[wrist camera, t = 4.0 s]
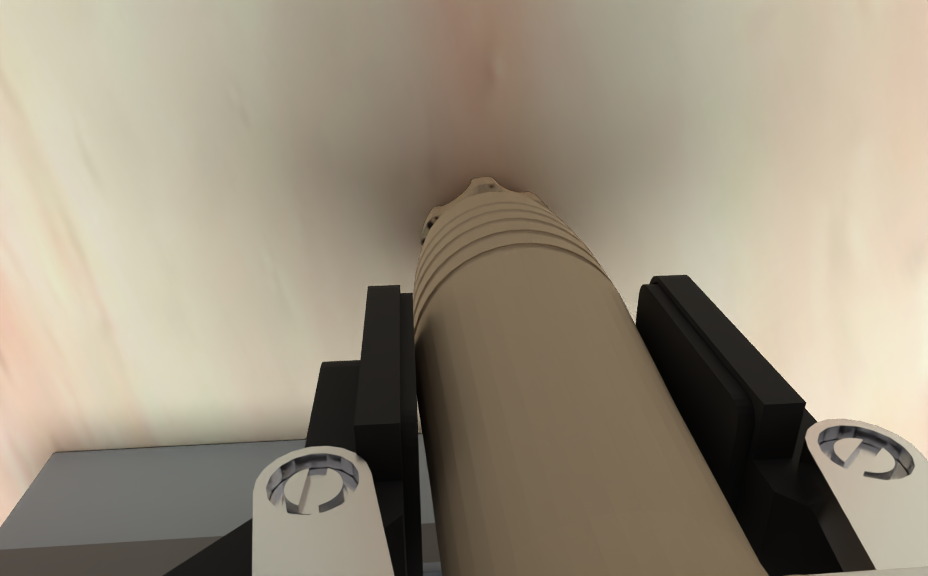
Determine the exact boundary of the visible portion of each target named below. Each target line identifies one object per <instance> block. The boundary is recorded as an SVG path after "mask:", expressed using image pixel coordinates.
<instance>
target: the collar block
mask: <svg viewBox="0 0 928 576" xmlns="http://www.w3.org/2000/svg"><path fill="white" fill-rule="evenodd" d="M305 443H306V440H290V441H271V442H252V443H232V444H213V445H194V446H175V447H156V448H136V449H117V450H98V451H79V452H59V453H53V455H52V456H51V457H50V459H49V460H48V462H47V463H46V464H45V466H44V467H43V469H42V470H41V471H40V473H39V474H38V476H37V477H36V478H35V480H34V481H33V483H32V484H31V485H30V487H29V488H28V490H27V491H26V492H25V494H24V495H23V496H22V498H21V499H20V501H19V502H18V503H17V505H16V506H15V508H14V509H13V510H12V512H11V513H10V515H9V516H8V517H7V519H6V520H5V522H4V523H3V524H2V526H1V527H0V576H163V575H164V574H166V573H167V572H169V571H170V570H172V569H173V568H175V567H177V566H178V565H180V564H181V563H183V562H184V561H186V560H187V559H189V558H191V557H192V556H194V555H195V554H197V553H198V552H200V551H201V550H203V549H205V548H206V547H208V546H209V545H211V544H212V543H214V542H215V541H217V540H219V539H220V538H222V537H223V536H225V535H226V534H228V533H229V532H231V531H233V530H234V529H236V528H237V527H239V526H240V525H242V524H243V523H245V522H246V521H248V520H250V519H251V518H253V490H254V486H255V482H256V480H257V478H258V477H259V475H260V474H261V473H262V471H263V470H264V469H265V468H266V467H267V466H268V465H270V464H271V463H272V462H273V461H275V460H276V459H277V458H280V457H282V456H284V455H286V454H288V453H290V452H292V451H296V450H300V449H303V448H305ZM418 445H419V473H420V501H421V529H422V558H423V576H442V571H441V563H440V555H439V548H438V540H437V533H436V525H435V518H434V510H433V503H432V495H431V488H430V481H429V474H428V468H427V461H426V454H425V447H424V441H423V434H418Z"/></svg>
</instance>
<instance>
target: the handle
mask: <svg viewBox="0 0 928 576" xmlns="http://www.w3.org/2000/svg"><path fill="white" fill-rule="evenodd" d="M421 245H422V246H423V247H422V250H421V253H420V256H419V260H418V265H417V270H416V276H415V283H414V293H413V315H414V340H415V366H416V392H417V400H418V407H419V414H420V420H421V427H422V434H423V441H424V447H425V454H426V461H427V468H428V474H429V481H430V488H431V495H432V503H433V510H434V518H435V525H436V533H437V540H438V548H439V555H440V563H441V571H442V576H769V575H768V573H767V572H766V571H765V569H764V568H763V567H762V565H761V564H760V562H759V560H758V558H757V556H756V554H755V553H754V551H753V549H752V547H751V545H750V543H749V541H748V540H747V538H746V536H745V534H744V532H743V530H742V528H741V527H740V525H739V523H738V521H737V519H736V517H735V515H734V513H733V512H732V510H731V508H730V506H729V504H728V502H727V500H726V499H725V497H724V495H723V493H722V491H721V489H720V487H719V485H718V484H717V482H716V480H715V478H714V476H713V474H712V472H711V471H710V469H709V467H708V465H707V463H706V461H705V459H704V457H703V456H702V454H701V452H700V450H699V448H698V446H697V444H696V443H695V441H694V439H693V437H692V435H691V433H690V431H689V430H688V428H687V426H686V424H685V422H684V420H683V418H682V416H681V415H680V413H679V411H678V409H677V407H676V405H675V403H674V401H673V399H672V397H671V395H670V393H669V391H668V389H667V387H666V385H665V383H664V381H663V379H662V377H661V375H660V373H659V371H658V369H657V367H656V365H655V363H654V361H653V359H652V357H651V355H650V353H649V351H648V349H647V347H646V345H645V343H644V341H643V339H642V337H641V335H640V333H639V331H638V329H637V327H636V325H635V323H634V321H633V320H632V318H631V316H630V314H629V312H628V310H627V308H626V306H625V304H624V302H623V300H622V298H621V296H620V294H619V293H618V291H617V290H616V288H615V287H614V285H613V284H612V282H611V280H610V279H609V278H608V276H607V275H606V273H605V272H604V270H603V269H602V267H601V266H600V264H599V263H598V261H597V260H596V259H595V257H594V256H593V254H592V253H591V252H590V250H589V249H588V248H587V247H586V245H585V244H584V243H583V242H582V241H581V240H580V239H579V238H578V237H577V236H576V235H575V234H574V232H573V231H572V230H571V229H570V228H569V227H568V226H567V225H566V224H565V223H564V222H563V221H562V220H560V219H559V218H558V217H557V216H556V215H554V214H553V213H552V212H551V211H550V210H549V208H548V207H547V206H546V205H545V204H544V203H543V202H542V201H541V200H540V199H539V198H538V197H537V196H536V195H534V194H533V193H531V192H523V193H521V192H514V191H510V190H507V189H505V188H503V187H502V186H500V185H499V184H497V182H496V181H495V180H494V179H493V178H491V177H479V178H474V179H473V180H471V183H470V185H469V186H468V188H467V189H466V190H465V191H464V192H463V193H462V194H461V195H460V196H459V197H457V198H456V199H454V200H453V201H451V202H450V203H448V204H445V205H443V206H436V207H434V208H433V209H432V210H431V211H430V213H429V215H428V217H427V219H426V221H425V223H424V226H423V230H422V236H421ZM788 576H816V575H788Z"/></svg>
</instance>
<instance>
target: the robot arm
mask: <svg viewBox="0 0 928 576" xmlns="http://www.w3.org/2000/svg"><path fill="white" fill-rule="evenodd" d="M636 327H637V329H638V331H639V333H640V335H641V337H642V339H643V341H644V343H645V345H646V347H647V349H648V351H649V353H650V355H651V357H652V359H653V361H654V363H655V365H656V367H657V369H658V371H659V373H660V375H661V377H662V379H663V381H664V383H665V385H666V387H667V389H668V391H669V393H670V395H671V397H672V399H673V401H674V403H675V405H676V407H677V409H678V411H679V413H680V415H681V416H682V418H683V420H684V422H685V424H686V426H687V428H688V430H689V431H690V433H691V435H692V437H693V439H694V441H695V443H696V444H697V446H698V448H699V450H700V452H701V454H702V456H703V457H704V459H705V461H706V463H707V465H708V467H709V469H710V471H711V472H712V474H713V476H714V478H715V480H716V482H717V484H718V485H719V487H720V489H721V491H722V493H723V495H724V497H725V499H726V500H727V502H728V504H729V506H730V508H731V510H732V512H733V513H734V515H735V517H736V519H737V521H738V523H739V525H740V527H741V528H742V530H743V532H744V534H745V536H746V538H747V540H748V541H749V543H750V545H751V547H752V549H753V551H754V553H755V554H756V556H757V558H758V560H759V562H760V564H761V565H762V567H763V568H764V569H765V571H766V572H767V573H768V575H769V576H788V575H816V576H928V461H927V459H926V458H925V457H924V456H923V454H922V453H921V452H920V451H918V450H917V449H916V448H915V447H914V446H913V445H912V444H911V443H910V442H908V441H906V440H905V439H903V438H902V437H900V436H899V435H897V434H895V433H893V432H890V431H888V430H886V429H884V428H881V427H879V426H876V425H872V424H869V423H865V422H862V421H855V420H848V419H828V420H824V421H821V422H817V421H816V420H815V419H814V418H813V416H812V415H811V414H810V413H809V412H808V411H807V410H806V409H805V405H806V402H805V401H804V400H803V399H802V398H801V397H800V395H799V394H798V393H797V392H796V391H795V390H794V389H793V388H792V387H791V386H790V385H789V384H788V383H787V382H786V380H785V379H784V378H783V377H782V376H781V375H780V374H779V373H778V372H777V371H776V370H775V369H774V368H773V366H772V365H771V364H770V363H769V362H768V361H767V360H766V359H765V358H764V357H763V356H762V355H761V354H760V353H759V351H758V350H757V349H756V348H755V347H754V346H753V345H752V344H751V343H750V342H749V341H748V340H747V339H746V337H745V336H744V335H743V334H742V333H741V332H740V331H739V330H738V329H737V328H736V327H735V326H734V325H733V324H732V322H731V321H730V320H729V319H728V318H727V317H726V316H725V315H724V314H723V313H722V312H721V311H720V310H719V308H718V307H717V306H716V305H715V304H714V303H713V302H712V301H711V300H710V299H709V298H708V297H707V296H706V295H705V293H704V292H703V291H702V290H701V289H700V288H699V287H698V286H697V285H696V284H695V283H694V282H693V281H692V279H691V278H690V277H688V276H687V275H669V276H654V277H653V278H652V279H651V281H650V284H644V285H642V286H641V288H640V292H639V299H638V308H637V316H636ZM163 576H423V558H422V529H421V501H420V473H419V445H418V418H417V392H416V366H415V340H414V315H413V293H400V285H389V286H368V291H367V301H366V311H365V321H364V331H363V341H362V351H361V360H353V361H330V362H322V364H321V368H320V373H319V378H318V383H317V388H316V393H315V398H314V403H313V408H312V413H311V418H310V423H309V428H308V433H307V438H306V443H305V448H303V449H300V450H296V451H292V452H290V453H288V454H286V455H284V456H282V457H280V458H277V459H276V460H275V461H273V462H272V463H271V464H270V465H268V466H267V467H266V468H265V469H264V470H263V471H262V473H261V474H260V475H259V477H258V478H257V480H256V482H255V486H254V490H253V518H251V519H250V520H248V521H246V522H245V523H243V524H242V525H240V526H239V527H237V528H236V529H234V530H233V531H231V532H229V533H228V534H226V535H225V536H223V537H222V538H220V539H219V540H217V541H215V542H214V543H212V544H211V545H209V546H208V547H206V548H205V549H203V550H201V551H200V552H198V553H197V554H195V555H194V556H192V557H191V558H189V559H187V560H186V561H184V562H183V563H181V564H180V565H178V566H177V567H175V568H173V569H172V570H170V571H169V572H167V573H166V574H164V575H163Z"/></svg>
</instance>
